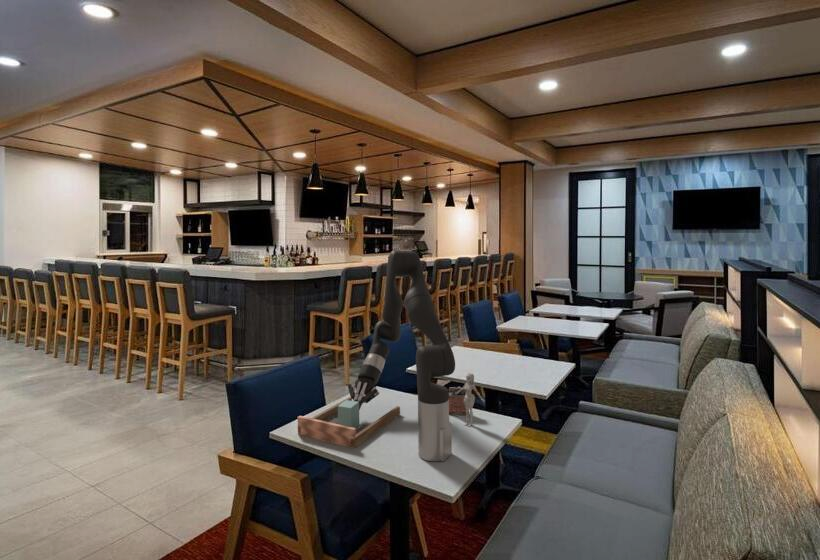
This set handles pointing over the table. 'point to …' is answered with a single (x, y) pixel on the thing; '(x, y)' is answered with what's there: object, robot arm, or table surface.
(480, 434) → the table surface
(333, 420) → the trap pads
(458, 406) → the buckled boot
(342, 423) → the block
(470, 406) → the human figurine
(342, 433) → the lane box
